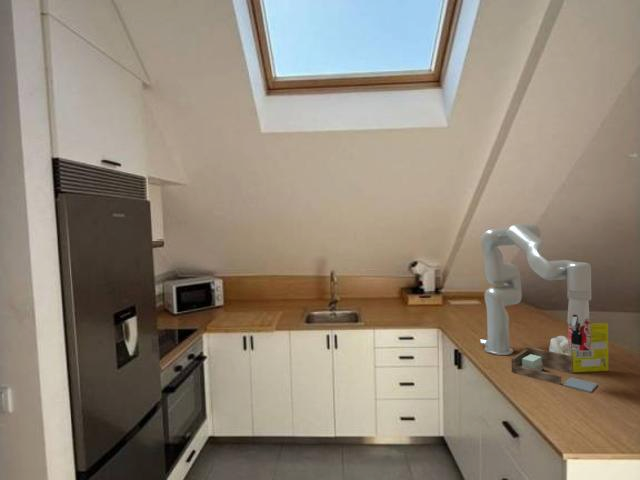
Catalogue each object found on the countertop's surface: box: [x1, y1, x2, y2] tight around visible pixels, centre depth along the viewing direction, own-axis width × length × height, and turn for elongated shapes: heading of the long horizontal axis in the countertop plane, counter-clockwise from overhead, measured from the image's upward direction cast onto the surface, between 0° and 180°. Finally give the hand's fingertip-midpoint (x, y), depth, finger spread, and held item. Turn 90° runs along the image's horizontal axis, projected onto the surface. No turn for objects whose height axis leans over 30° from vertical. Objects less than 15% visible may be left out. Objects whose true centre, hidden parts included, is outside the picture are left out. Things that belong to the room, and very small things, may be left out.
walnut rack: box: [511, 346, 574, 385], centre depth 159 cm, size 18×16×7 cm
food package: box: [572, 322, 609, 373], centre depth 157 cm, size 15×1×20 cm, turn 92°
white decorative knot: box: [548, 335, 572, 356], centre depth 174 cm, size 11×12×9 cm
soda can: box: [567, 318, 591, 352], centre depth 144 cm, size 7×7×12 cm
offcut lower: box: [521, 363, 544, 371], centre depth 161 cm, size 5×9×3 cm, turn 129°
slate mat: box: [562, 376, 598, 394], centre depth 145 cm, size 9×9×1 cm
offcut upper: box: [522, 354, 542, 369], centre depth 161 cm, size 4×8×3 cm, turn 128°
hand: (579, 341), depth 145 cm, fingers closed on soda can, 6 cm apart
